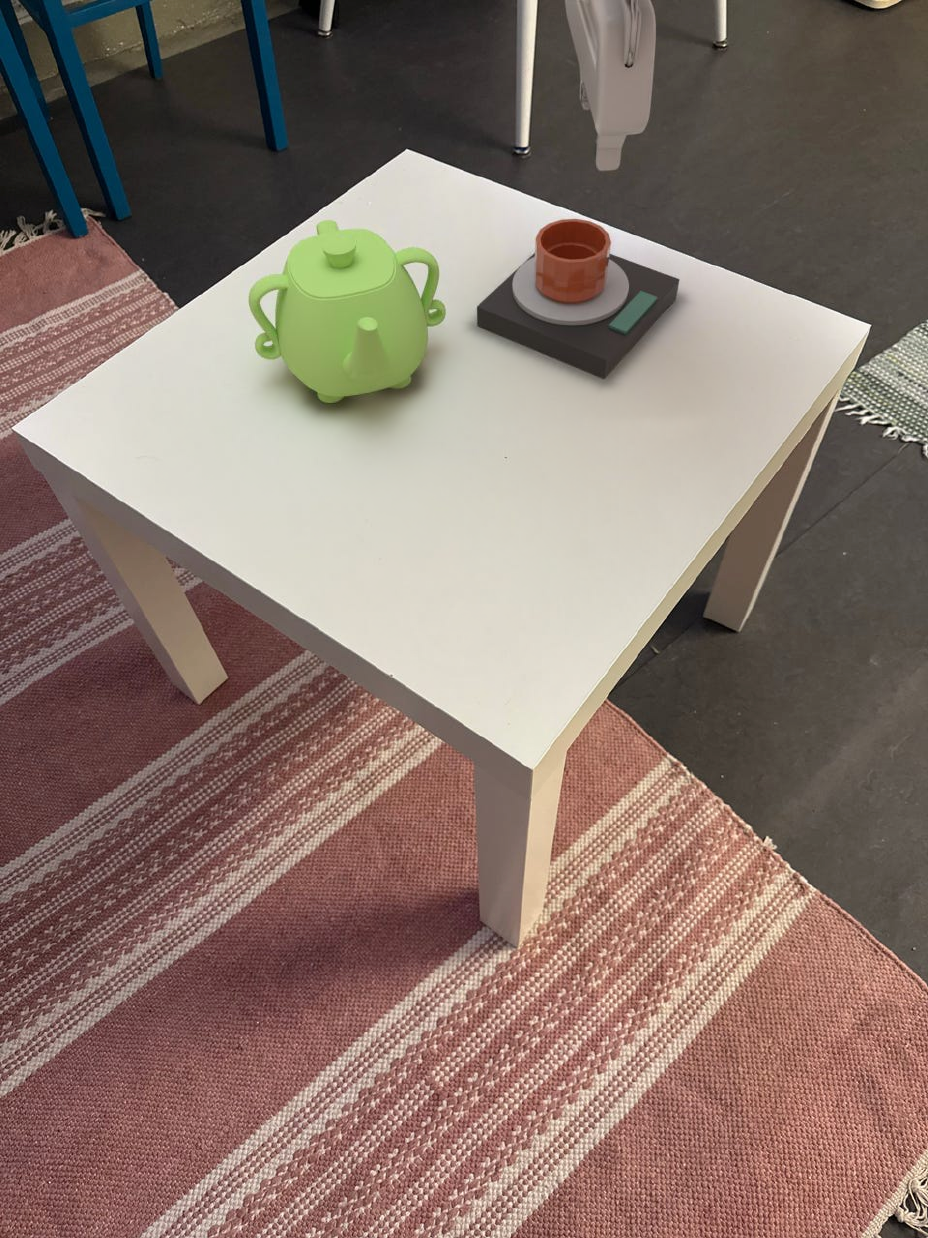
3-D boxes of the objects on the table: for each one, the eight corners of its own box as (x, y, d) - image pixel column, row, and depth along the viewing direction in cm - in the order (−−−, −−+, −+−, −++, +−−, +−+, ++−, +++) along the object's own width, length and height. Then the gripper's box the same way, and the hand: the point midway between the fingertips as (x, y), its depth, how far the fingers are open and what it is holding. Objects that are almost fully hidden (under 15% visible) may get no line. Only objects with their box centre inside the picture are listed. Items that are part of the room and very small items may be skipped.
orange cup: (600, 260, 89) (604, 216, 85) (610, 304, 85) (615, 259, 81) (531, 264, 89) (532, 220, 85) (538, 308, 85) (540, 263, 81)
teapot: (478, 357, 85) (477, 232, 75) (385, 447, 79) (370, 325, 69) (344, 298, 91) (325, 175, 81) (247, 378, 84) (213, 255, 74)
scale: (676, 298, 89) (680, 273, 87) (604, 379, 83) (607, 354, 81) (553, 252, 94) (555, 227, 92) (476, 325, 88) (476, 300, 86)
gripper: (689, -10, 56) (659, 203, 68) (637, -125, 68) (619, 73, 80) (586, -3, 56) (574, 209, 68) (552, -119, 68) (547, 77, 80)
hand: (598, 134), depth 74 cm, fingers open, 8 cm apart
